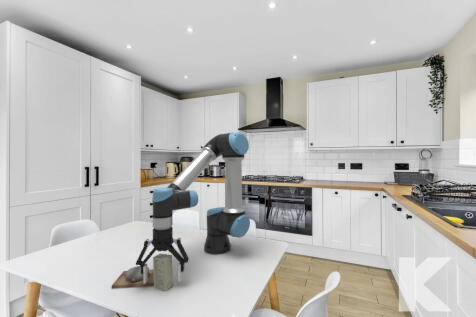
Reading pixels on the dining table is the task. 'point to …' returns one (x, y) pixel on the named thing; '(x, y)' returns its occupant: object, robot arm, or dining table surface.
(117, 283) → the bayonet base
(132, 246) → the dining table surface
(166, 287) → the skincare box
